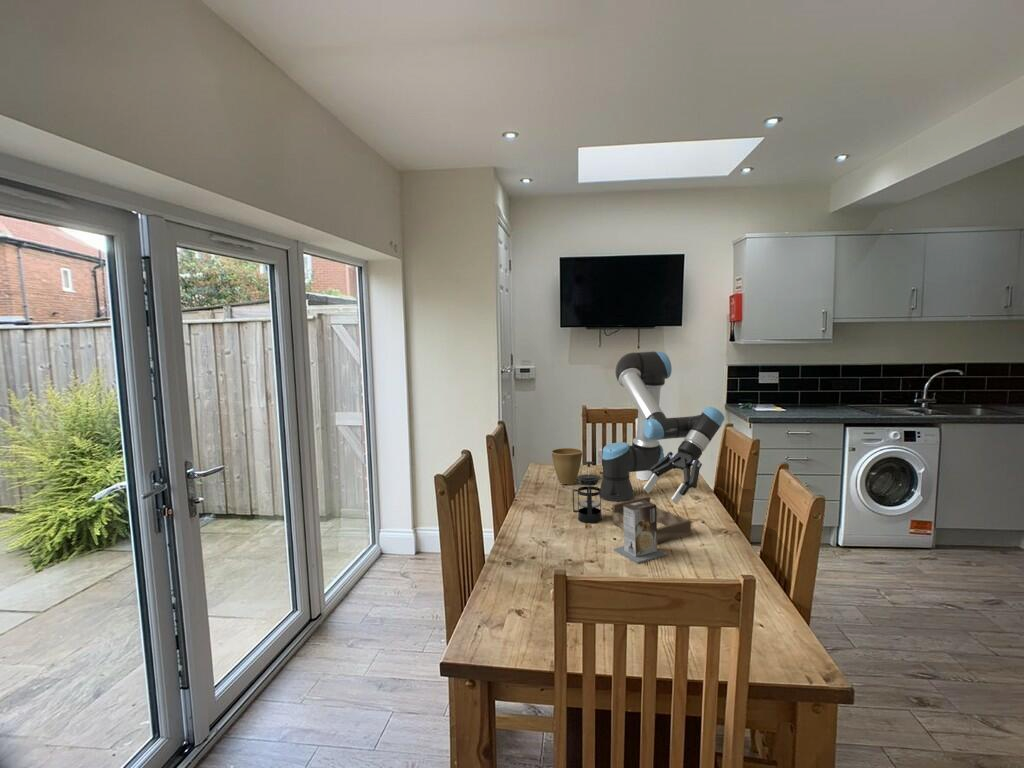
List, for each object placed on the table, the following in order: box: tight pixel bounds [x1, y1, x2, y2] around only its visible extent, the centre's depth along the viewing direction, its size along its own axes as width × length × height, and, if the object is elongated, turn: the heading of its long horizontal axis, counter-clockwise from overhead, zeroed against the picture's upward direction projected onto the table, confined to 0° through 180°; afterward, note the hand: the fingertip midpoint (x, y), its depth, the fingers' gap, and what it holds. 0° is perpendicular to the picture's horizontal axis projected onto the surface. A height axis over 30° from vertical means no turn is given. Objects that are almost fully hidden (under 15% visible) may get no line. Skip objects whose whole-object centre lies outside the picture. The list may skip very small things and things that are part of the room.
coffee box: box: [623, 500, 658, 557], centre depth 175 cm, size 9×6×16 cm
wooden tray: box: [612, 496, 692, 545], centre depth 196 cm, size 22×17×8 cm
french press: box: [572, 460, 603, 524], centre depth 208 cm, size 12×9×23 cm
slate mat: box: [613, 545, 667, 565], centre depth 176 cm, size 12×12×1 cm
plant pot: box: [551, 447, 583, 485], centre depth 258 cm, size 15×15×16 cm
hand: (659, 496), depth 178 cm, fingers open, 13 cm apart
